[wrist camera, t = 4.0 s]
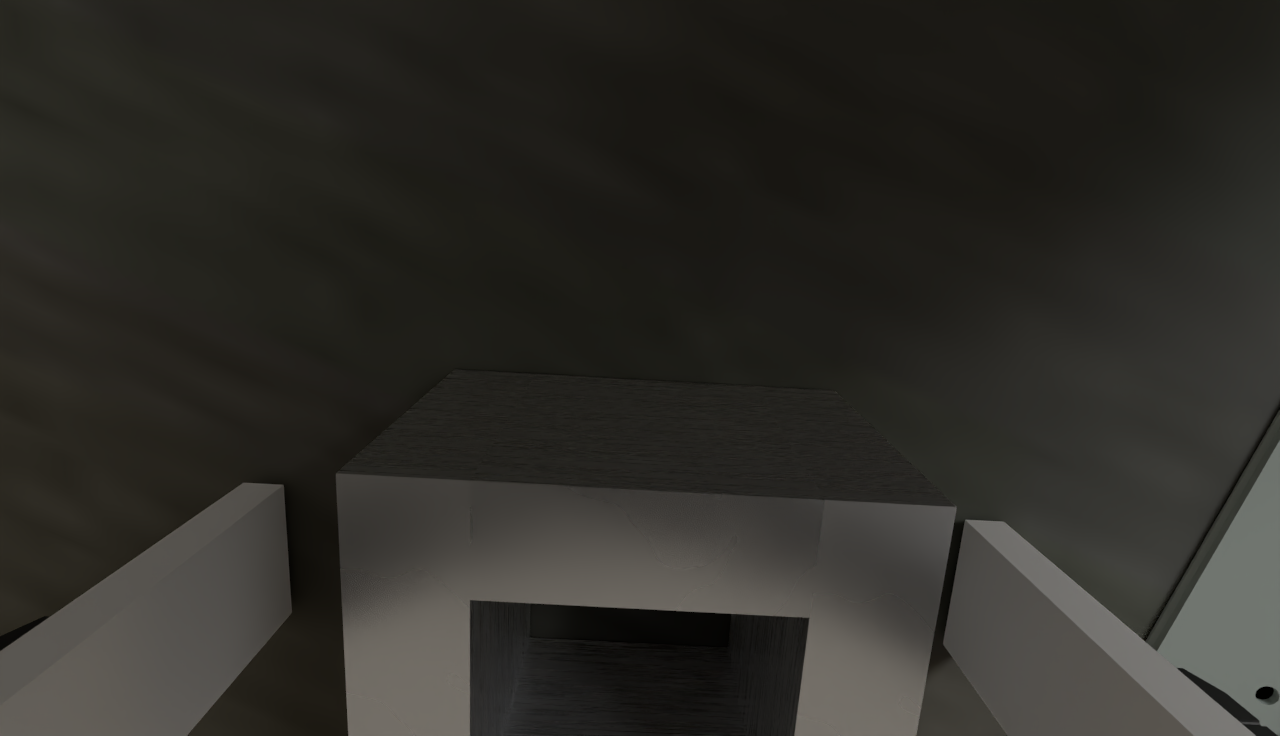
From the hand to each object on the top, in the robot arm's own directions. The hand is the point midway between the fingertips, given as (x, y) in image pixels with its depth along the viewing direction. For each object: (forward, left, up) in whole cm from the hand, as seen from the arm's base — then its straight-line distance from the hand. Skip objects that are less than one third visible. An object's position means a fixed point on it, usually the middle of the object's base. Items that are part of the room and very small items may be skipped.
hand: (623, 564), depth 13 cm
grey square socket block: (0, 0, 0) cm, 0 cm away
